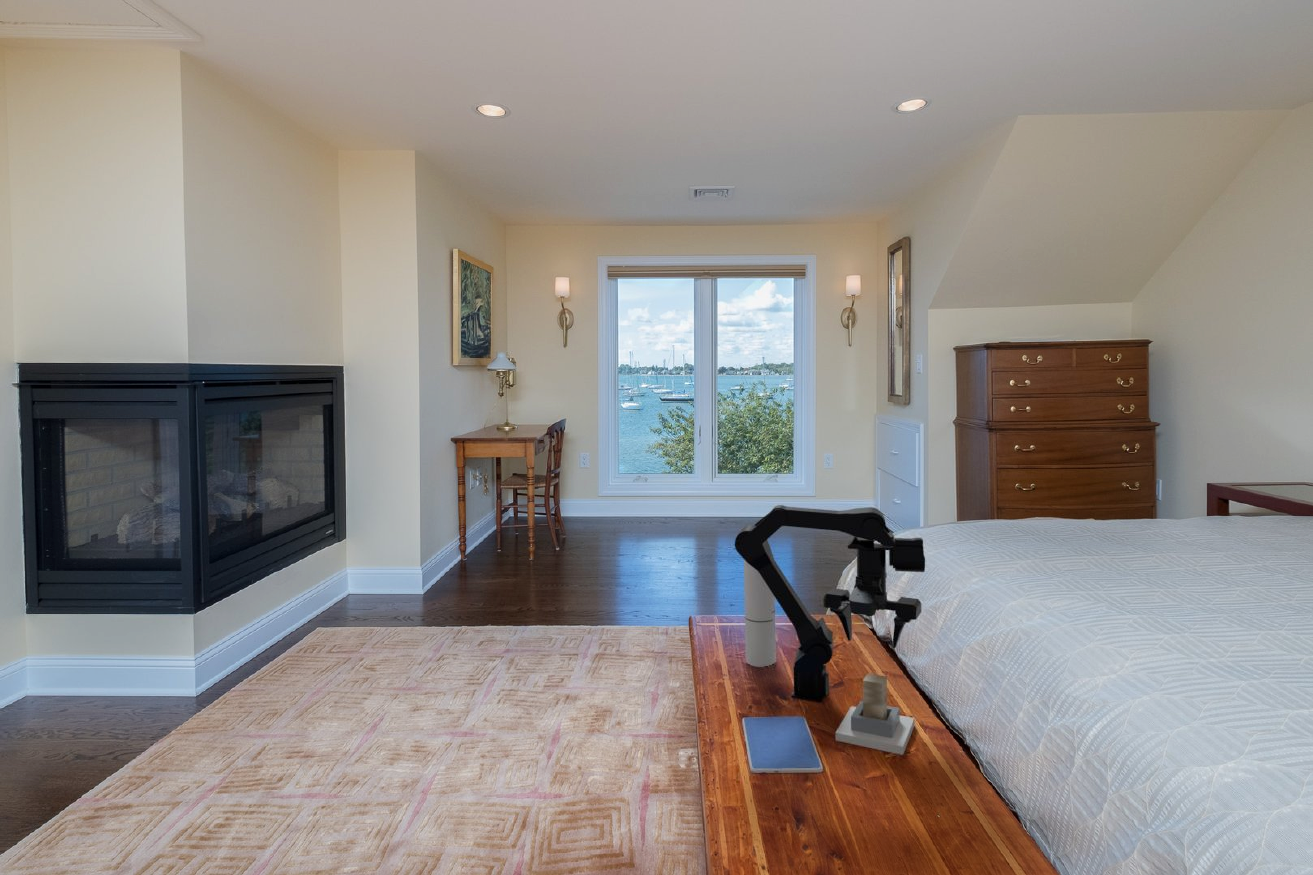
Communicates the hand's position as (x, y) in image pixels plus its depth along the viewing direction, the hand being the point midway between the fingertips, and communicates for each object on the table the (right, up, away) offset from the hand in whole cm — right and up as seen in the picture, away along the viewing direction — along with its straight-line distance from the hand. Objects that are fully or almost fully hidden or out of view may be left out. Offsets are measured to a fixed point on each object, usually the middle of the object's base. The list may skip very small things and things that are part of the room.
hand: (871, 643), depth 148 cm
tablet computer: (-22, -15, -16) cm, 31 cm away
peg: (-3, -12, -13) cm, 18 cm away
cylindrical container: (-20, -11, +23) cm, 32 cm away
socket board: (-3, -13, -13) cm, 19 cm away
